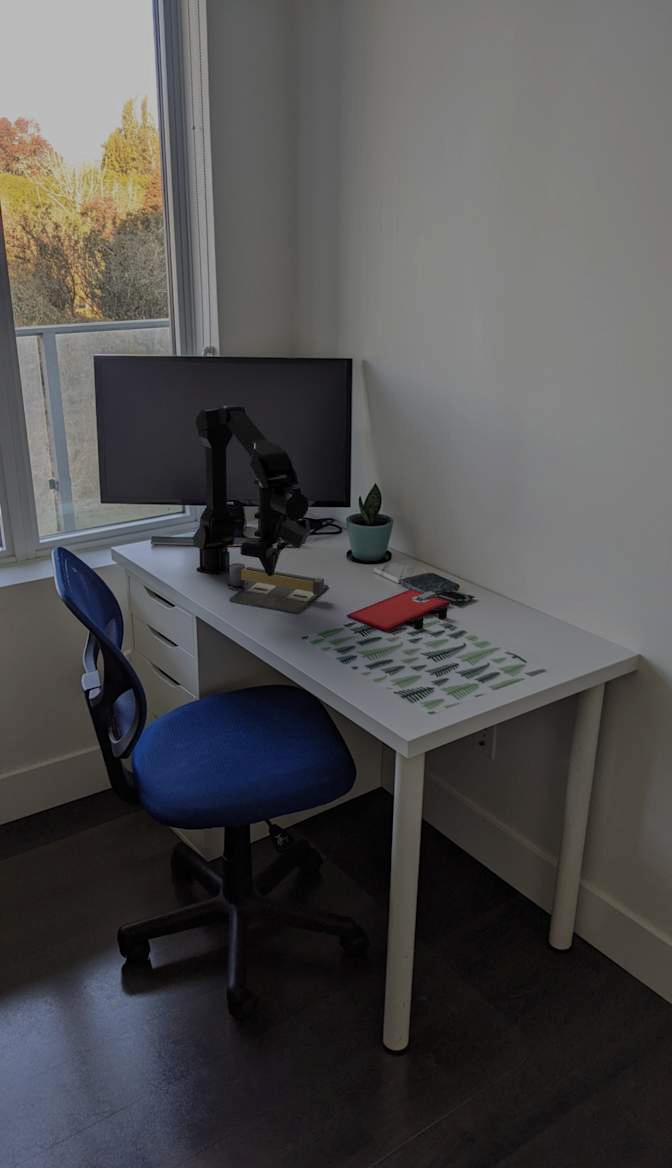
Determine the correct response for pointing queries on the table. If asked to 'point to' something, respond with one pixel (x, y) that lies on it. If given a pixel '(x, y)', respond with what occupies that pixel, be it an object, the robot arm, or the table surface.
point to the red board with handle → (407, 609)
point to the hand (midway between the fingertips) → (270, 575)
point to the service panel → (273, 596)
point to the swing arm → (274, 579)
